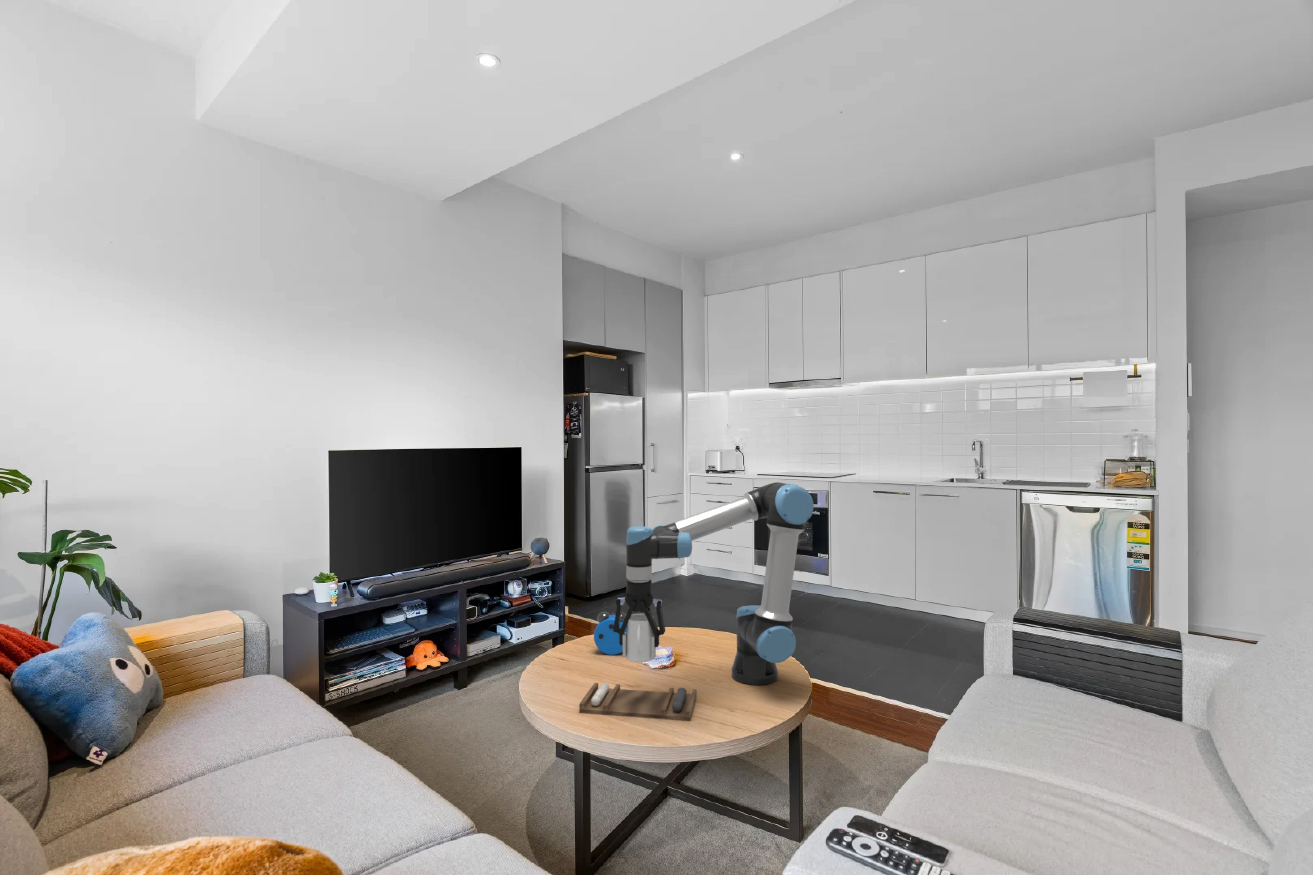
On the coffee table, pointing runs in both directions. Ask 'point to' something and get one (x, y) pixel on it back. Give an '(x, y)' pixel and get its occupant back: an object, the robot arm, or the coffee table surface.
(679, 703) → the dark grey rounded rod
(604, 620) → the alarm clock
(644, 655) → the mug
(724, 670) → the coffee table surface
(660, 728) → the coffee table surface
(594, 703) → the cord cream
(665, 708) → the tray
